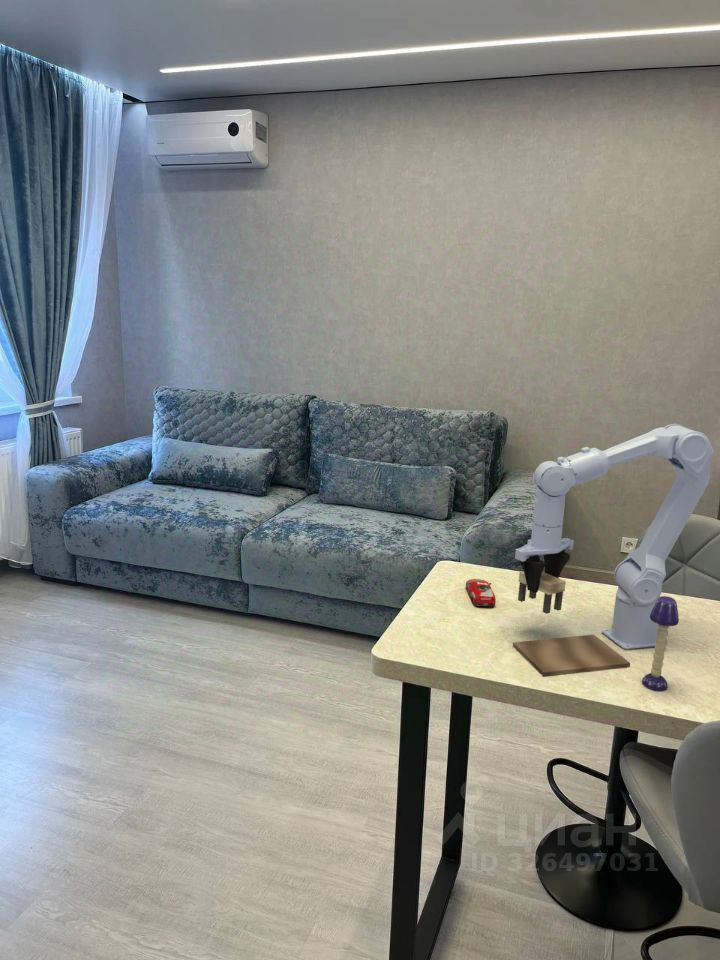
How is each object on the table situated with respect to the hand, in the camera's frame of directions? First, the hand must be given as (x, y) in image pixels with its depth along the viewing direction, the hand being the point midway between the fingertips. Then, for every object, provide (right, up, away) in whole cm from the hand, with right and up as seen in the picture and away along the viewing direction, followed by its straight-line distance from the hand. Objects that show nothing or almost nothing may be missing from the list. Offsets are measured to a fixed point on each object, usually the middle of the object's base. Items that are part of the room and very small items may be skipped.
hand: (541, 588), depth 141 cm
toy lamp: (+16, -15, -15) cm, 27 cm away
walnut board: (+4, -12, -5) cm, 14 cm away
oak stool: (0, -3, +1) cm, 4 cm away
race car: (-9, -6, +22) cm, 24 cm away
